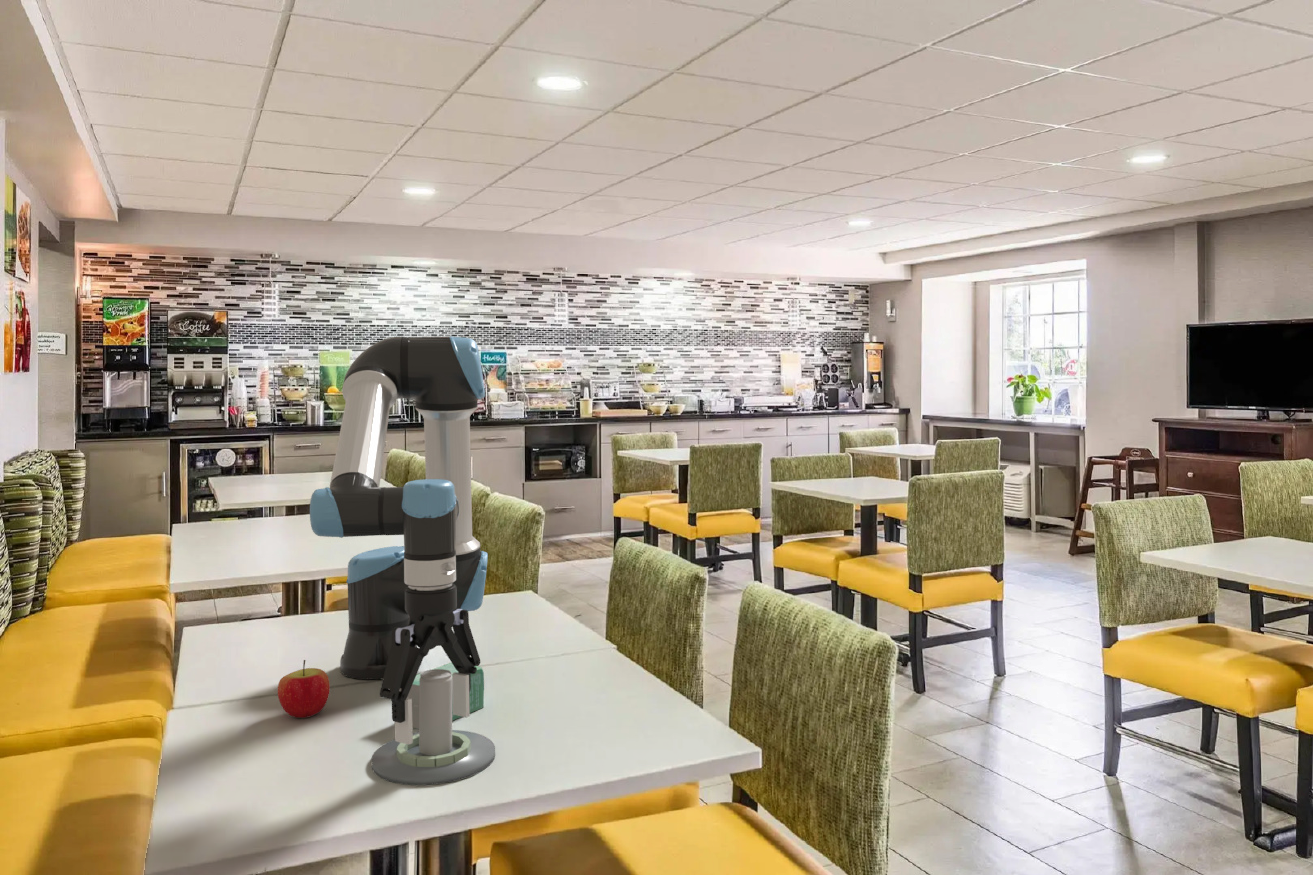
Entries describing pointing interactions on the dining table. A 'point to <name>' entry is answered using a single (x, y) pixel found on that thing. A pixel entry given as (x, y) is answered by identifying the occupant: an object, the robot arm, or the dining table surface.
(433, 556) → the robot arm
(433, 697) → the beverage can
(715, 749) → the dining table surface
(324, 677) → the apple
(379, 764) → the tray
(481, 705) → the box
